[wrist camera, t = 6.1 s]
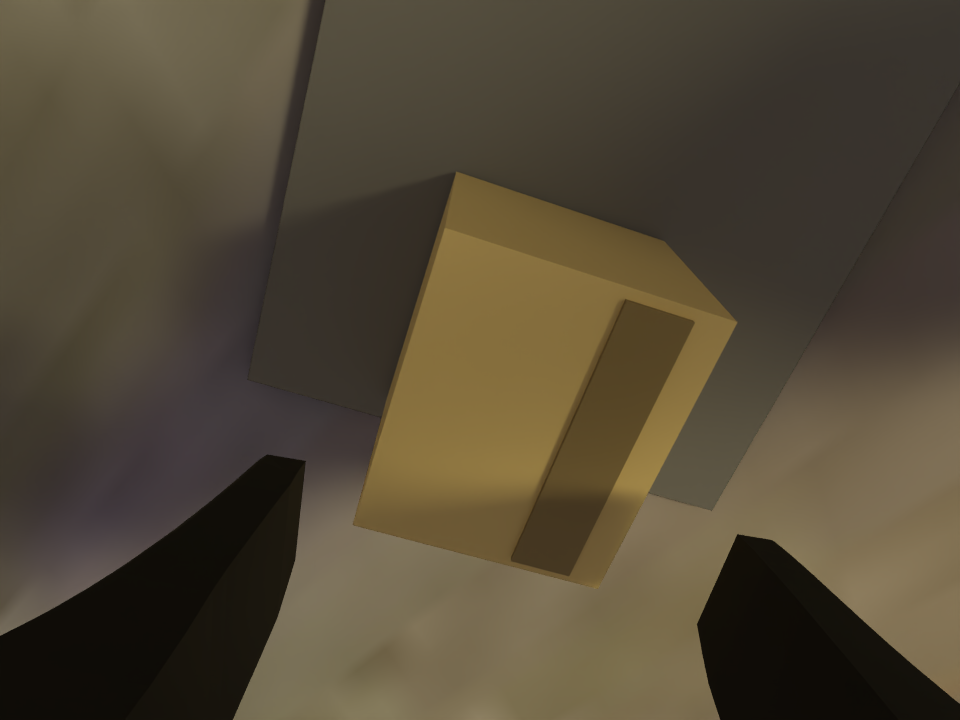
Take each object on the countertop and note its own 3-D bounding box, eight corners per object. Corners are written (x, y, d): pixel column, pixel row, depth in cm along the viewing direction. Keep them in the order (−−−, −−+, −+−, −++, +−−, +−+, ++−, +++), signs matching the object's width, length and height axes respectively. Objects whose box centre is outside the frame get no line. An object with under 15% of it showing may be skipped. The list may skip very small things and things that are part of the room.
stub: (664, 241, 16) (740, 324, 11) (569, 452, 18) (599, 592, 14) (456, 171, 15) (444, 229, 10) (386, 399, 18) (351, 528, 13)
